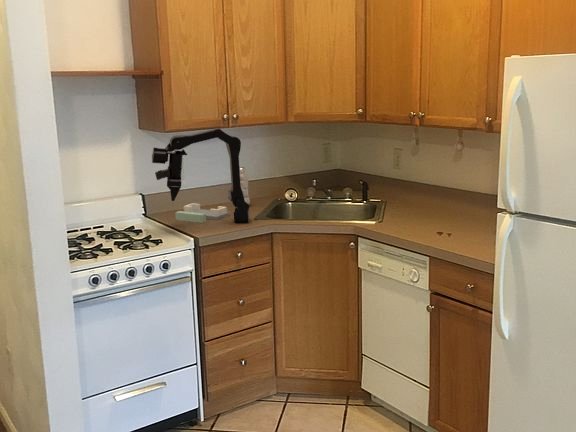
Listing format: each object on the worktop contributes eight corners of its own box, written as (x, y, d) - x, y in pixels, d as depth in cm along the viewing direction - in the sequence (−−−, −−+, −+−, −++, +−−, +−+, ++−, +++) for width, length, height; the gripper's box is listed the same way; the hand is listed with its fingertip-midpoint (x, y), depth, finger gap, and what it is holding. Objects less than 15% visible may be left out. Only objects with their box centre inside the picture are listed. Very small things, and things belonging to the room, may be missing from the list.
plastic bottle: (242, 208, 333) (239, 169, 328) (234, 206, 338) (232, 167, 334) (252, 206, 337) (250, 167, 332) (245, 204, 342) (243, 166, 337)
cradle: (229, 215, 319) (229, 206, 318) (217, 220, 311) (216, 210, 310) (194, 211, 331) (194, 202, 330) (181, 215, 322) (180, 206, 321)
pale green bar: (206, 222, 309) (205, 213, 308) (202, 223, 307) (201, 215, 306) (179, 219, 317) (179, 211, 316) (175, 220, 315) (175, 212, 314)
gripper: (157, 160, 299) (155, 194, 302) (156, 165, 281) (153, 201, 284) (182, 162, 301) (179, 195, 304) (182, 167, 283) (180, 203, 286)
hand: (172, 199), depth 294 cm, fingers open, 9 cm apart
